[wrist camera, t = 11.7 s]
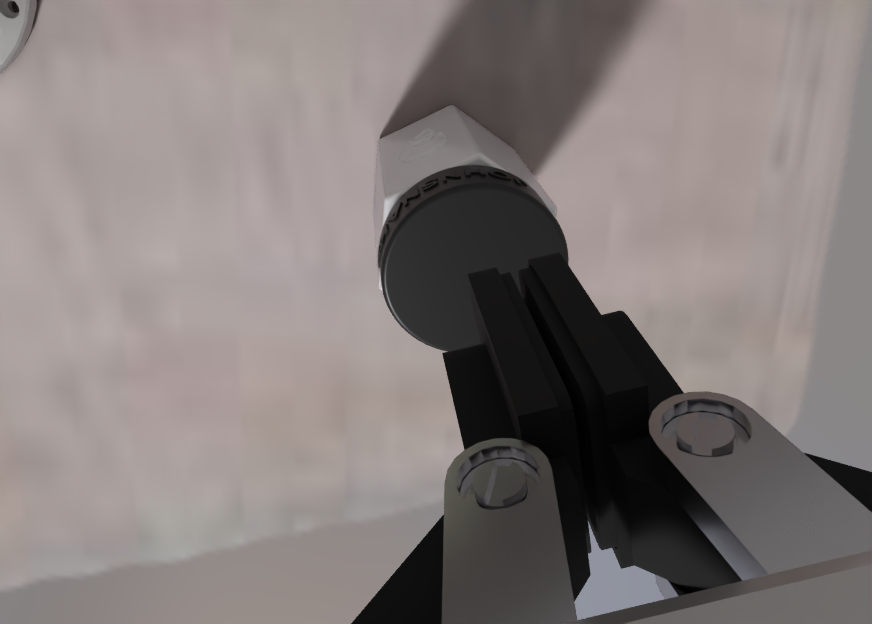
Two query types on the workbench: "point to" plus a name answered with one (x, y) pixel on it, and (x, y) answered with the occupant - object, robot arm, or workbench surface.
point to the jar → (453, 222)
